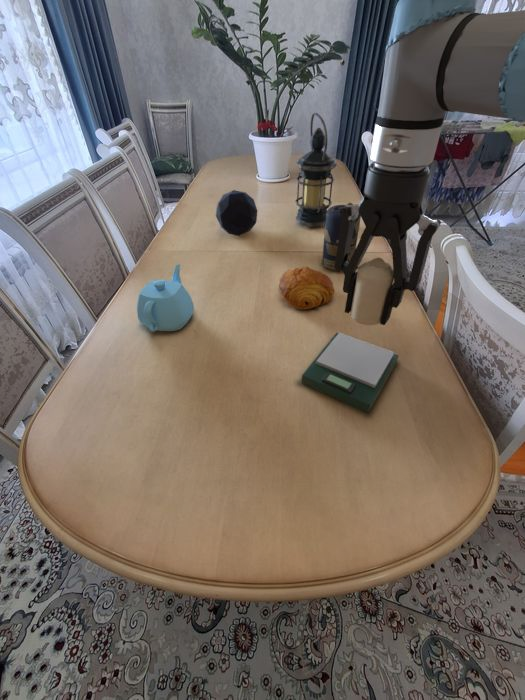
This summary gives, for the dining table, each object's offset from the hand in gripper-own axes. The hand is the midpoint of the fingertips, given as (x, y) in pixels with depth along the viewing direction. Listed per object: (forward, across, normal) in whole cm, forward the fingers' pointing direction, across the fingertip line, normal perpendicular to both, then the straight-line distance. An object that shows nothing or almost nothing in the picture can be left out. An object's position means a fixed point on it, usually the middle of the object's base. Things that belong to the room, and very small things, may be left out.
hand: (366, 314), depth 59 cm
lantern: (+17, -45, +68) cm, 84 cm away
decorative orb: (+17, -64, +48) cm, 82 cm away
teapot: (+17, -48, -4) cm, 51 cm away
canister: (+17, -23, +43) cm, 52 cm away
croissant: (+17, -23, +23) cm, 37 cm away
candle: (+1, 0, 0) cm, 1 cm away
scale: (+17, -1, +2) cm, 17 cm away
